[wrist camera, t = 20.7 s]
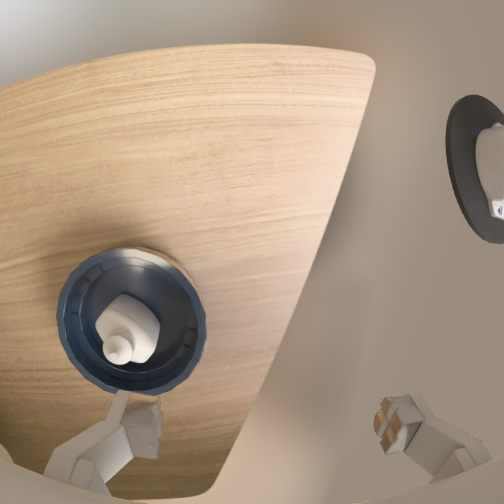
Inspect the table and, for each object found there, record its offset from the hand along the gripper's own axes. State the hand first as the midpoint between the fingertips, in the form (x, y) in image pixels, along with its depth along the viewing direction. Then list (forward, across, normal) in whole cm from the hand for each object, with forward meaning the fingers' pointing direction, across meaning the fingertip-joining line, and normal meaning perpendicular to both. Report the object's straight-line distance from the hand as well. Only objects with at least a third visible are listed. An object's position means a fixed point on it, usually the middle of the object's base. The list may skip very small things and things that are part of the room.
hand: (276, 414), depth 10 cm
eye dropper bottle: (+21, +11, +9) cm, 26 cm away
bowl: (+22, +12, +9) cm, 26 cm away
